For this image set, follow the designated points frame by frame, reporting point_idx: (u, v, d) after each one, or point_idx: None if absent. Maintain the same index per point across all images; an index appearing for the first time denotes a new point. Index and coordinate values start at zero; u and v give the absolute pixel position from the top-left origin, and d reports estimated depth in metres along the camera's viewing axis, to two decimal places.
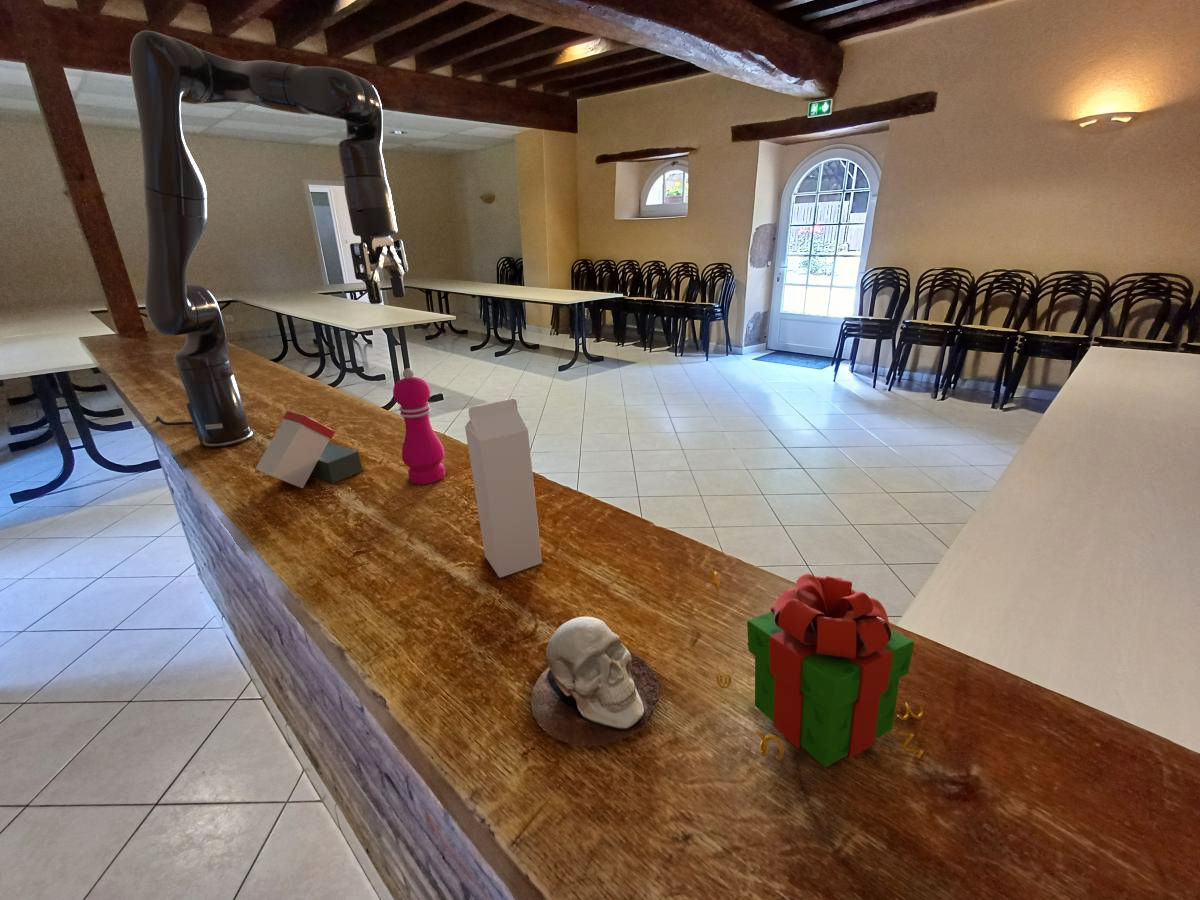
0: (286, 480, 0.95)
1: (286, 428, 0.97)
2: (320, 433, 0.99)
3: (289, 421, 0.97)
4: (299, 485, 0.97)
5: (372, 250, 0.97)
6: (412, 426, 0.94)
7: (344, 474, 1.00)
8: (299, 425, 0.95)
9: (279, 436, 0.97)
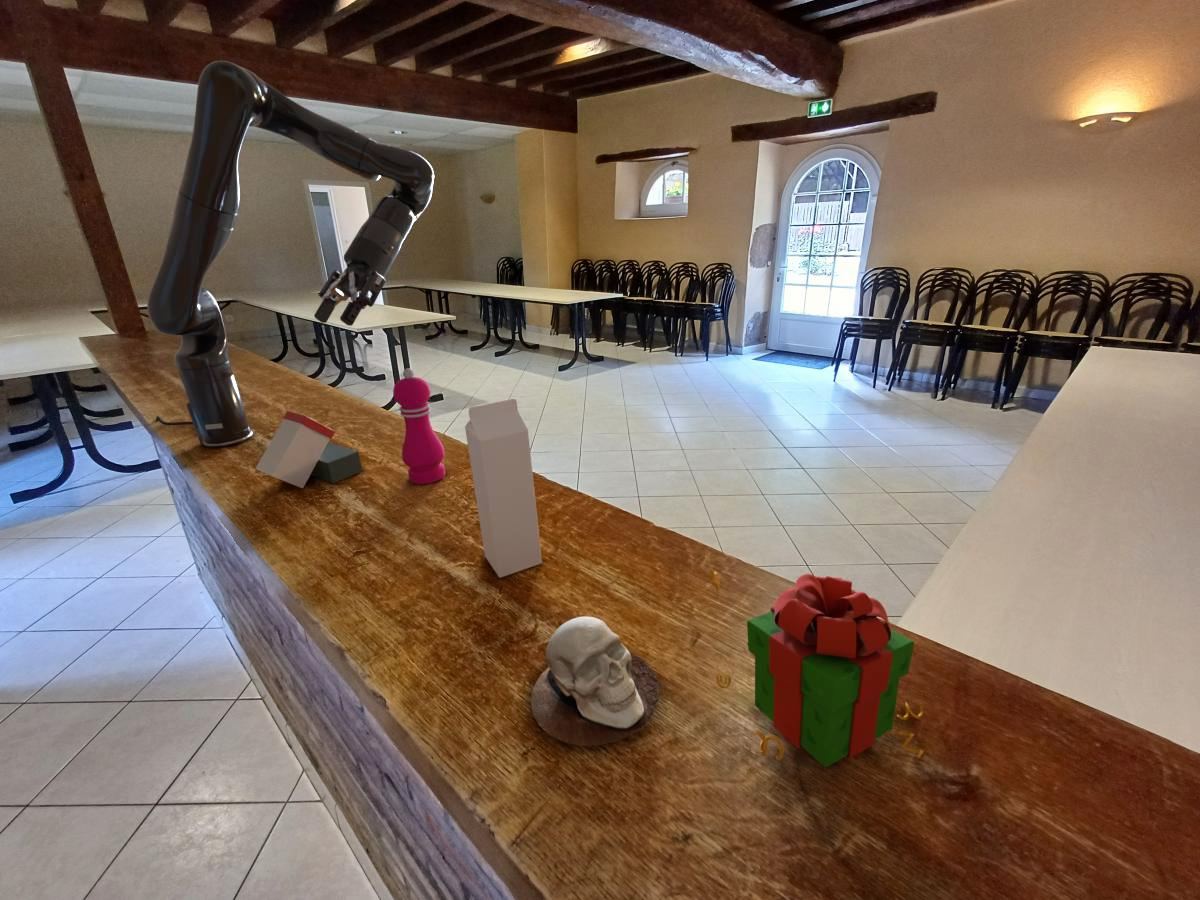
0: (286, 480, 0.95)
1: (286, 428, 0.97)
2: (320, 433, 0.99)
3: (289, 421, 0.97)
4: (299, 485, 0.97)
5: None
6: (412, 426, 0.94)
7: (344, 474, 1.00)
8: (299, 425, 0.95)
9: (279, 436, 0.97)
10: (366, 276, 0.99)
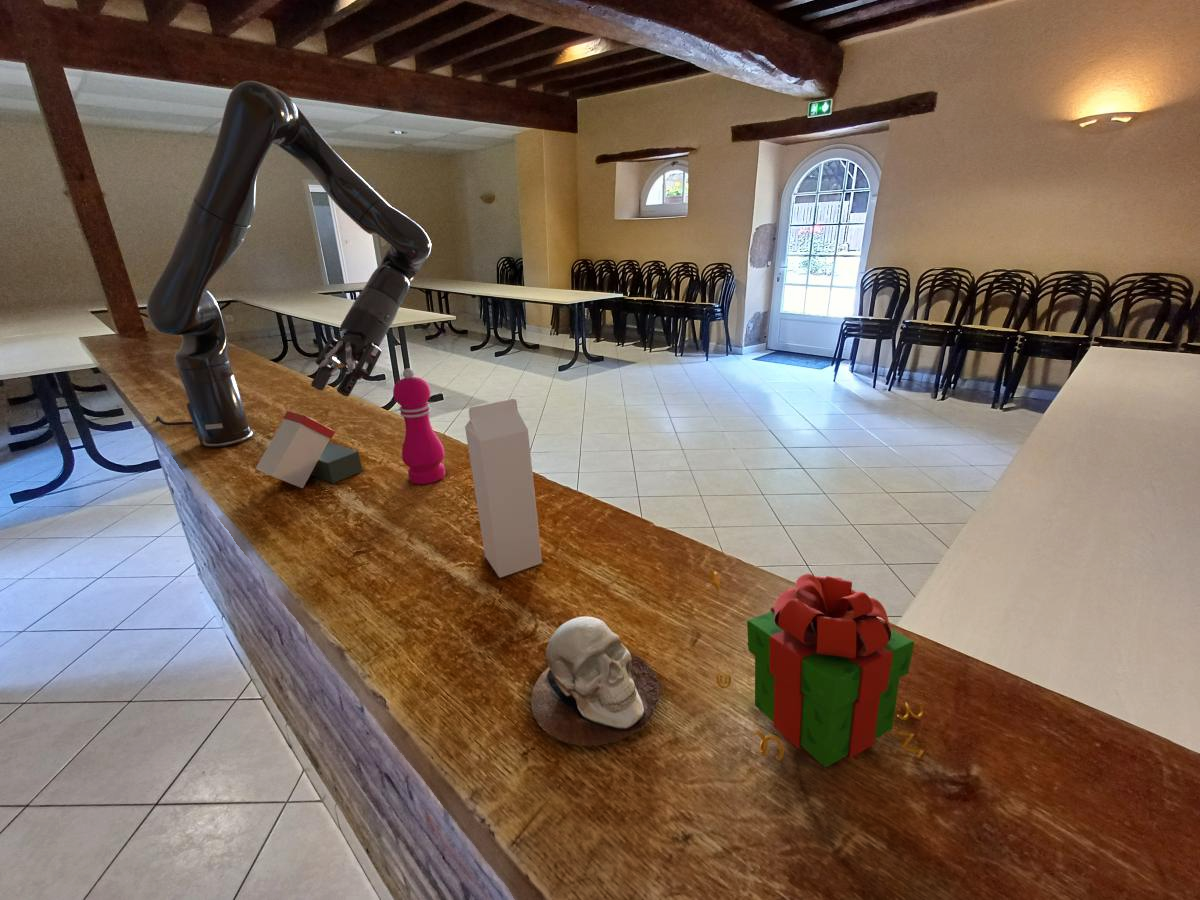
0: (286, 480, 0.95)
1: (286, 428, 0.97)
2: (320, 433, 0.99)
3: (289, 421, 0.97)
4: (299, 485, 0.97)
5: None
6: (412, 426, 0.94)
7: (344, 474, 1.00)
8: (299, 425, 0.95)
9: (279, 436, 0.97)
10: (362, 347, 1.01)
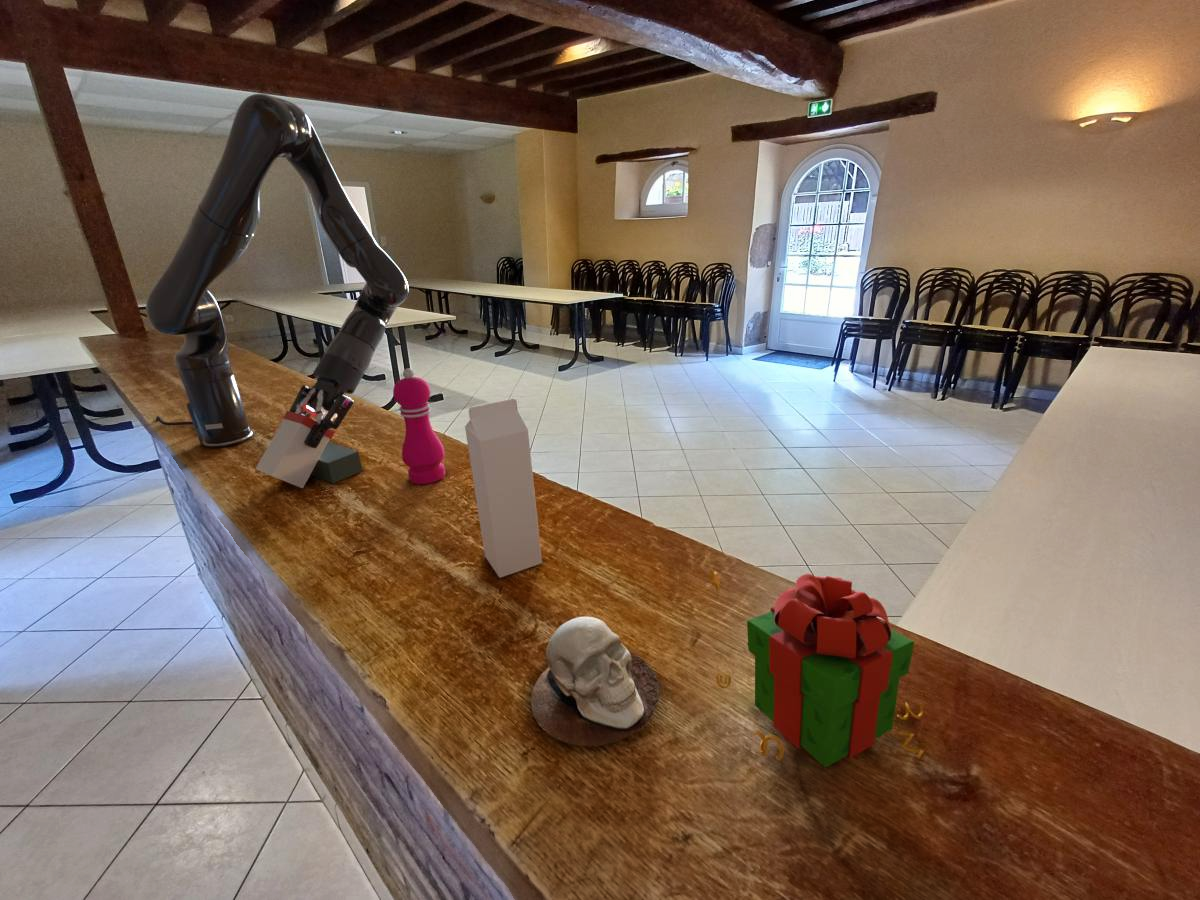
0: (286, 480, 0.95)
1: (286, 428, 0.97)
2: None
3: (289, 421, 0.97)
4: (299, 485, 0.97)
5: None
6: (412, 426, 0.94)
7: (344, 474, 1.00)
8: (299, 425, 0.95)
9: (279, 436, 0.97)
10: (334, 396, 0.98)
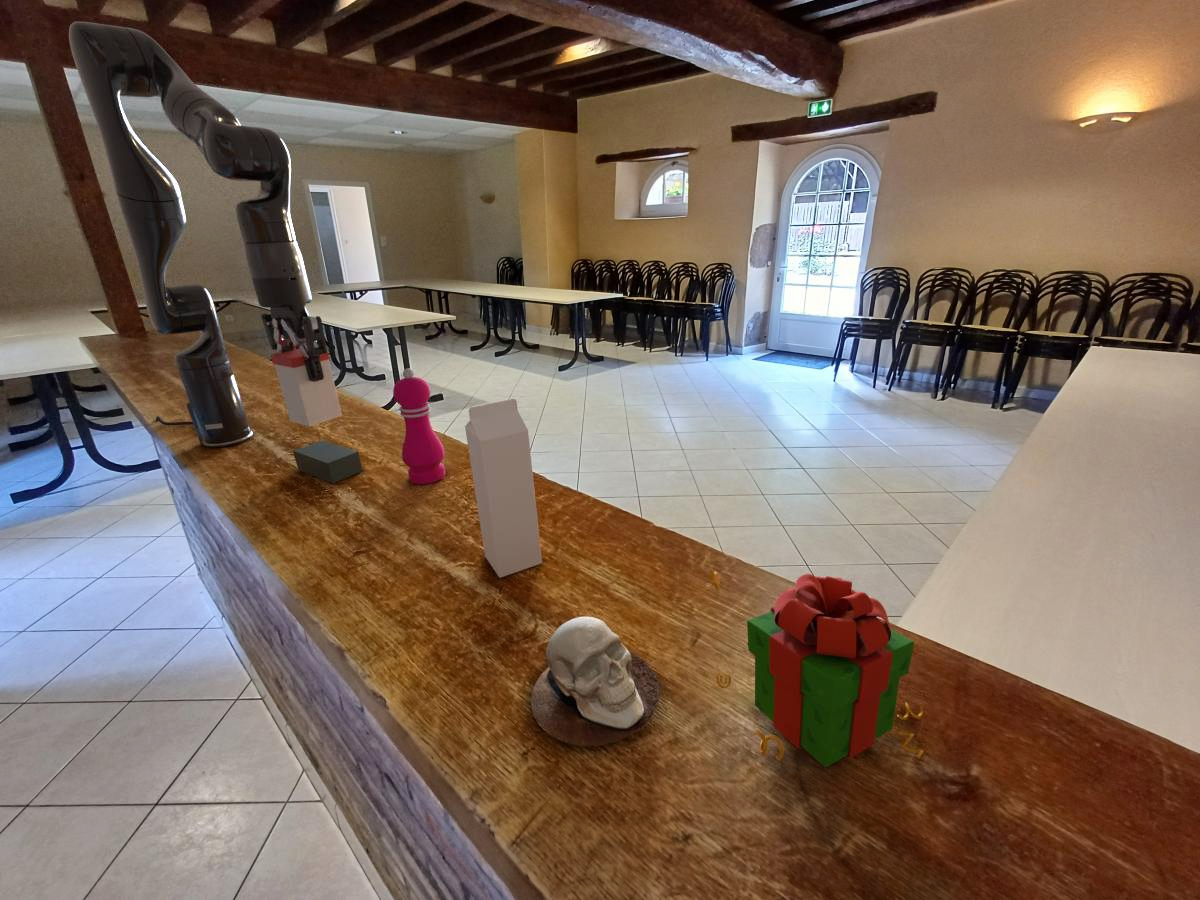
0: (323, 420, 0.93)
1: (284, 375, 0.90)
2: None
3: (281, 367, 0.89)
4: (337, 415, 0.95)
5: None
6: (412, 426, 0.94)
7: (344, 474, 1.00)
8: (293, 370, 0.87)
9: (285, 384, 0.91)
10: (299, 321, 0.85)
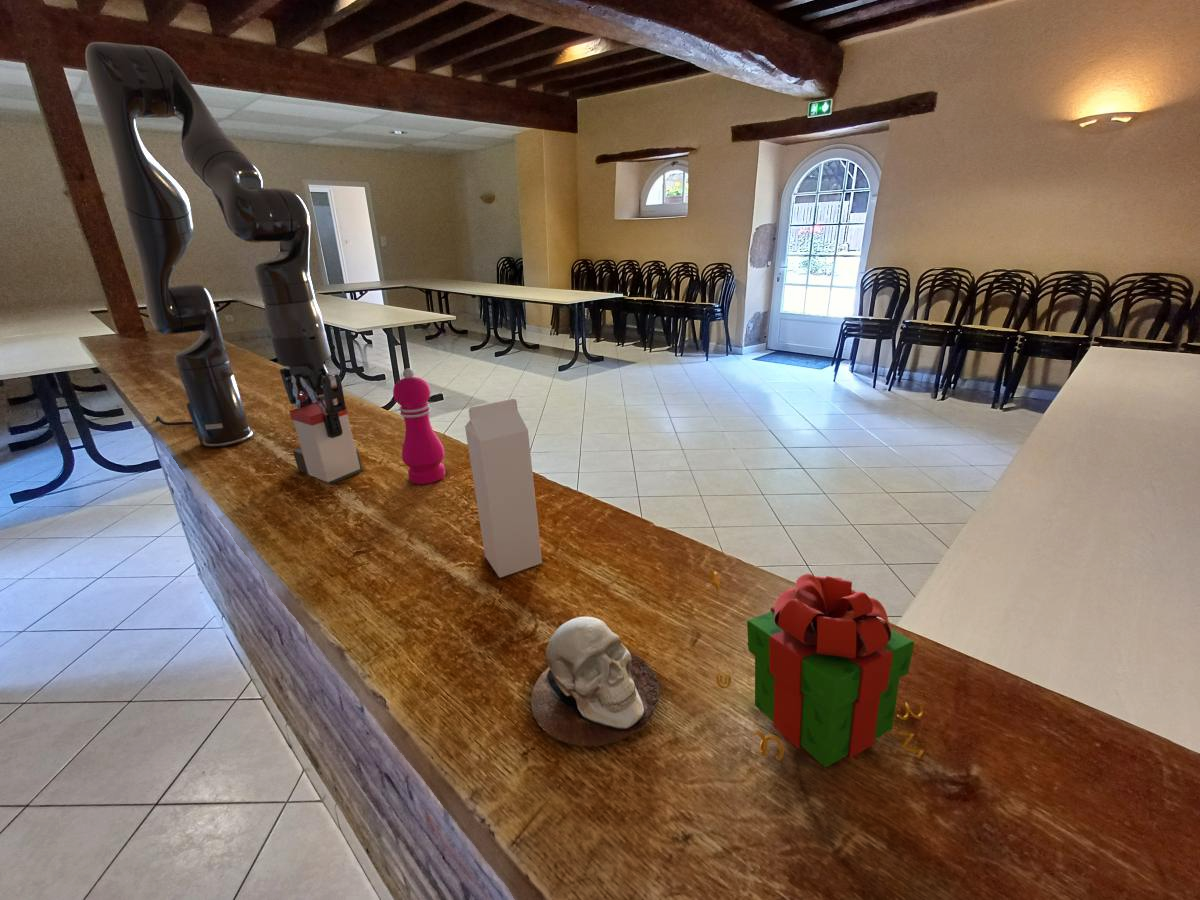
0: (342, 475, 0.92)
1: (303, 431, 0.89)
2: None
3: (300, 423, 0.89)
4: (355, 469, 0.94)
5: None
6: (412, 426, 0.94)
7: None
8: (311, 427, 0.87)
9: (303, 439, 0.90)
10: (318, 379, 0.85)
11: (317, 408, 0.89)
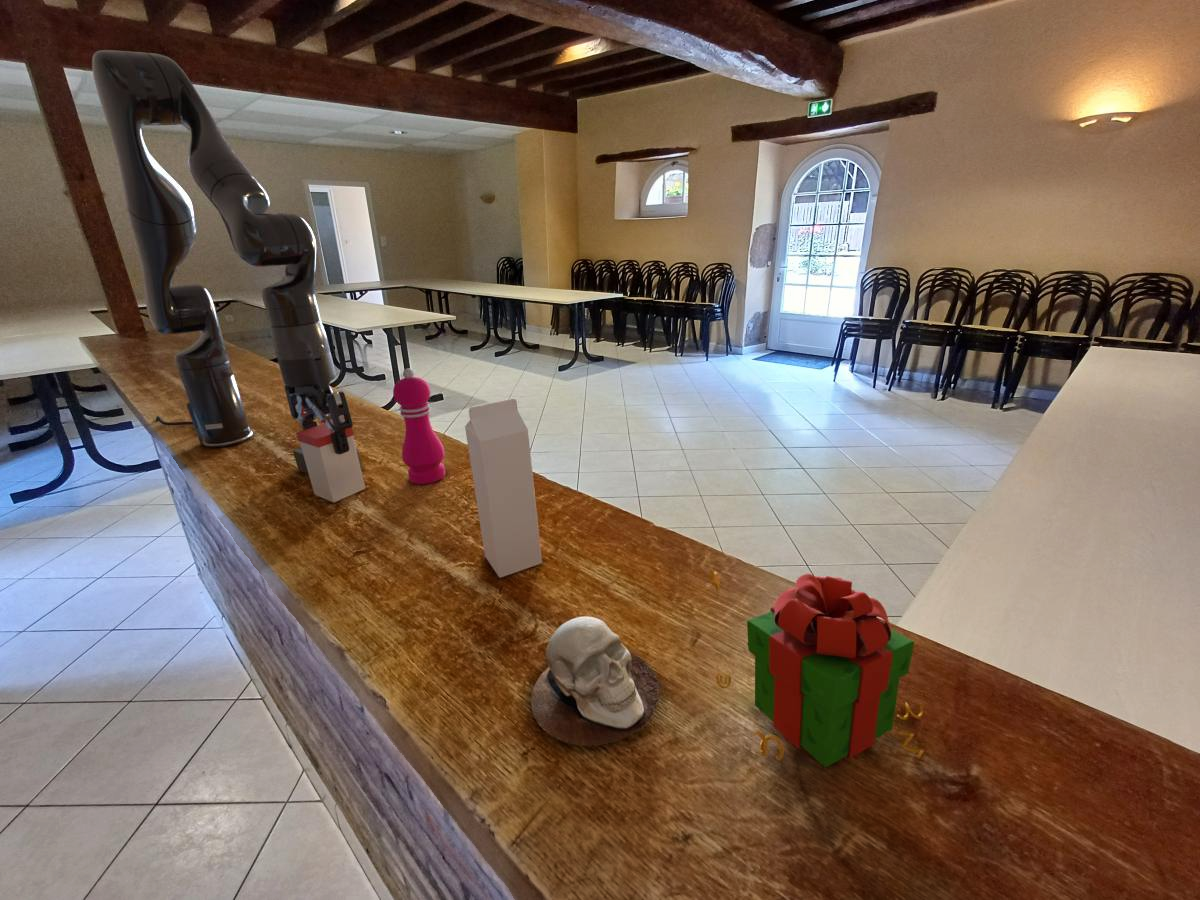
0: (347, 495, 0.94)
1: (310, 452, 0.90)
2: None
3: (306, 444, 0.90)
4: (361, 489, 0.96)
5: None
6: (412, 426, 0.94)
7: None
8: (318, 449, 0.88)
9: (310, 461, 0.92)
10: (323, 399, 0.86)
11: (323, 430, 0.91)
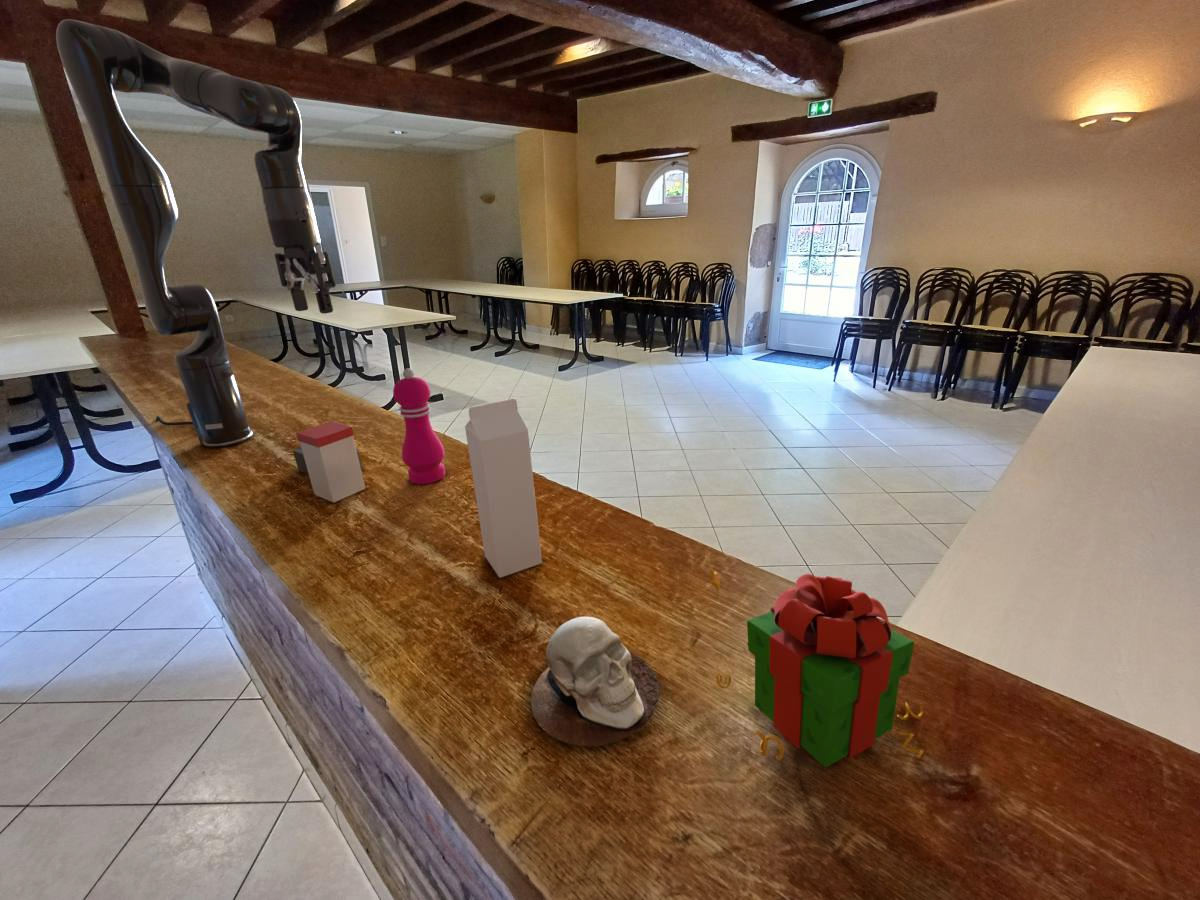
0: (347, 495, 0.94)
1: (310, 452, 0.90)
2: (341, 439, 0.91)
3: (306, 444, 0.90)
4: (361, 489, 0.96)
5: None
6: (412, 426, 0.94)
7: None
8: (318, 449, 0.88)
9: (310, 461, 0.92)
10: (309, 259, 0.96)
11: (323, 430, 0.91)
